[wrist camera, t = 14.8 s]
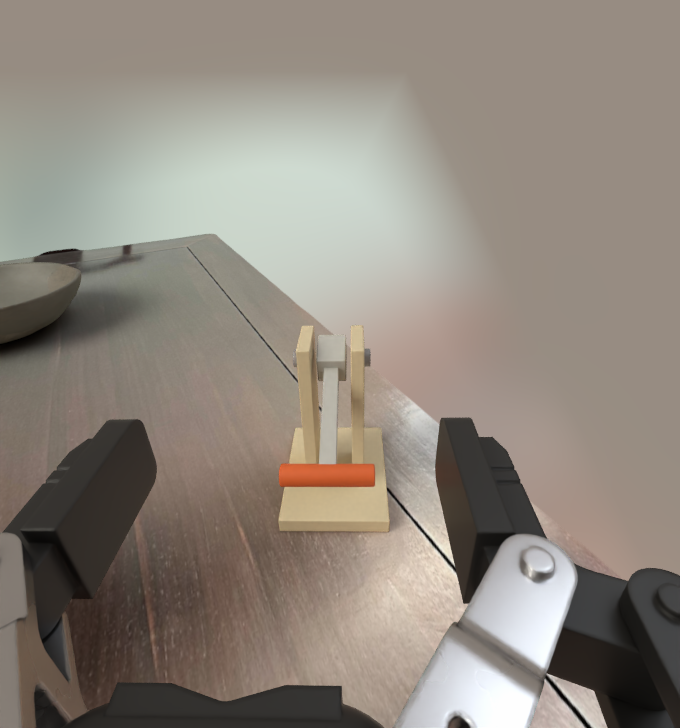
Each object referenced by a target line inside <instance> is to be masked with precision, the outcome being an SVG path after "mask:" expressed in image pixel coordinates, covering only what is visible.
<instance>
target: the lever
mask: <svg viewBox="0 0 680 728" xmlns="http://www.w3.org/2000/svg"><path fill="white" fill-rule="evenodd" d="M316 363H317V373H318V380H319V381H323V397H322V415H321V434H320V453H319V464H281V466H280V470H279V484H280V486H281V487H375V465H374V464H337V434H338V391H339V381H346V335H318V343H317V358H316Z"/></svg>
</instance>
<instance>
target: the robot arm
mask: <svg viewBox="0 0 680 728" xmlns="http://www.w3.org/2000/svg"><path fill="white" fill-rule="evenodd" d="M435 471H436V482H437V487H438V492H439V496H440V501H441V505H442V510H443V514H444V519H445V523H446V528H447V532H448V536H449V541H450V545H451V550H452V554H453V559H454V563H455V568H456V572H457V577H458V581H459V585H460V590H461V594H462V599H463V603H464V604H469V605H468V607H467V608H466V610H465V612H464V614H463V616H462V617H461V619H460V620H459V622H458V623H456V622H454V623H453V624H452V625H451V626H450V627H449V629H448V630H447V632H446V633H445V635H444V637H443V639H442V640H441V642H440V644H439V646H438V648H437V649H436V651H435V653H434V655H433V656H432V658H431V660H430V662H429V664H428V665H427V667H426V669H425V671H424V673H423V674H422V676H421V678H420V680H419V681H418V683H417V685H416V687H415V689H414V690H413V692H412V694H411V696H410V698H409V699H408V701H407V703H406V705H405V706H404V708H403V710H402V712H401V714H400V715H399V717H398V719H397V721H396V723H395V724H394V726H393V728H529V727H530V724H531V721H532V718H533V716H534V713H535V710H536V707H537V704H538V701H539V698H540V695H541V692H542V689H543V685H544V679H545V676H546V673H548V674H550V675H553V676H556V677H559V678H561V679H564V680H567V681H569V682H572V683H575V684H578V685H580V686H583V687H586V688H589V689H591V690H594V691H595V694H596V697H597V700H598V702H599V705H600V708H601V711H602V713H603V716H604V719H605V722H606V724H607V727H608V728H680V576H679V575H677V574H674V573H672V572H669V571H666V570H662V569H656V568H646V569H641V570H638V571H636V572H635V573H634V574H632V576H631V577H630V579H629V581H626V580H622V579H619V578H615V577H612V576H608V575H604V574H601V573H597V572H594V571H591V570H588V569H585V568H583V567H580V566H578V565H576V564H574V563H573V562H572V560H571V559H570V557H569V556H568V555H567V554H566V552H564V551H563V550H562V549H561V548H560V547H559V546H557V545H556V544H555V543H553V542H551V541H550V540H548V539H547V537H546V536H545V534H544V531H543V529H542V527H541V525H540V523H539V520H538V518H537V516H536V514H535V512H534V509H533V507H532V505H531V503H530V501H529V498H528V496H527V494H526V492H525V490H524V487H523V485H522V484H521V483H520V479H519V476H518V474H517V472H516V471H515V470H514V465H513V464H512V461H511V459H510V457H509V454H508V452H507V451H506V450H505V449H504V448H503V447H502V446H501V445H500V444H499V443H498V442H497V441H496V440H495V439H494V438H493V437H478V434H477V431H476V429H475V426H474V423H473V421H472V419H471V418H441V420H440V426H439V435H438V444H437V453H436V464H435ZM156 473H157V465H156V460H155V457H154V454H153V451H152V448H151V445H150V442H149V439H148V436H147V433H146V430H145V427H144V425H143V423H142V422H141V421H140V420H138V419H133V420H108V421H107V422H106V423H105V424H104V425H103V426H102V428H101V429H100V430H99V431H98V433H97V434H96V435H95V436H94V438H93V439H87V440H86V441H85V442H83V443H82V444H80V445H79V446H78V447H76V448H75V449H73V450H72V451H70V452H69V453H68V455H67V456H66V457H65V458H64V459H63V461H62V462H61V463H60V464H59V465H58V467H57V470H56V471H53V473H52V474H51V475H50V476H49V477H48V479H47V480H46V484H43V485H42V486H41V487H40V488H39V489H38V491H37V492H36V493H35V494H34V495H33V497H32V498H31V499H30V500H29V501H28V502H27V504H26V505H25V506H24V507H23V508H22V510H21V511H20V512H19V513H18V514H17V516H16V517H15V518H14V519H13V520H12V522H11V523H10V524H9V525H8V526H7V528H6V529H5V530H4V531H3V532H2V533H0V728H384V727H383V726H382V725H381V724H380V723H378V722H377V721H375V720H374V719H373V718H371V717H370V716H369V715H367V714H365V713H363V712H361V711H359V710H357V709H356V708H353V707H350V706H348V705H345V704H343V702H342V686H304V685H285V686H281V687H278V688H274V689H271V690H267V691H264V692H260V693H256V694H253V695H249V696H246V697H242V698H239V699H235V700H232V701H227V702H226V701H219V700H216V699H213V698H210V697H208V696H205V695H202V694H200V693H197V692H194V691H191V690H189V689H186V688H183V687H180V686H178V685H175V684H172V683H117V685H116V688H115V690H114V692H113V695H112V697H111V700H110V702H109V703H106V704H104V705H102V706H99V707H97V708H94V709H92V710H90V711H87V708H86V706H85V704H84V701H83V699H82V696H81V692H80V688H79V682H78V676H77V670H76V664H75V658H74V652H73V645H72V639H71V633H70V627H69V621H68V617H67V614H66V613H65V609H66V607H67V605H68V604H69V602H70V600H71V599H93V597H94V595H95V593H96V591H97V589H98V587H99V586H100V584H101V582H102V580H103V578H104V576H105V574H106V573H107V571H108V569H109V567H110V565H111V563H112V561H113V559H114V558H115V556H116V554H117V552H118V550H119V548H120V546H121V545H122V543H123V541H124V539H125V537H126V535H127V533H128V532H129V530H130V528H131V526H132V524H133V522H134V520H135V519H136V517H137V515H138V513H139V511H140V509H141V507H142V505H143V504H144V502H145V500H146V498H147V496H148V494H149V492H150V491H151V489H152V487H153V485H154V482H155V479H156Z"/></svg>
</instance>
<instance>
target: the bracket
mask: <svg viewBox="0 0 680 728" xmlns="http://www.w3.org/2000/svg"><path fill="white" fill-rule="evenodd" d="M293 364H294V367H297V372H298V383H299V395H300V407H301V418H302V428H295V433H294V439H293V444H292V449H291V455H290V460H289V464H319V453H320V434H321V428H320V419H319V402H318V385H317V368H316V351H315V335H314V326H302V328H301V332H300V336H299V341H298V345H297V349H294V352H293ZM364 366H370V349H364V331H363V326H362V325H358V326H357V325H356V326H351V413H352V428H338V434H337V464H374V465H375V487H285V488H284V493H283V498H282V504H281V509H280V515H279V520H278V521H279V528H280V531H344V532H389V525H390V519H389V508H388V497H387V486H386V475H385V464H384V453H383V442H382V431H381V428H364Z"/></svg>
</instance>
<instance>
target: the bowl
mask: <svg viewBox="0 0 680 728" xmlns="http://www.w3.org/2000/svg"><path fill="white" fill-rule="evenodd" d="M80 282H81V272H80V271H79V270H78V269H75V268H73V267H70V266H67V265H63V264H59V263H47V262H31V263H13V264H3V265H0V344H2V343H6V342H10V341H13V340H17V339H20V338H23V337H25V336H28V335H30V334H32V333H34V332H36V331H38V330H40V329H41V328H43V327H45V326H47V325H49V324H51V323H52V322H54V321H55V320H56V319H57V318H59V317H60V316H61V314H62V313H63V312H64V311H65V310H66V308H67V307H68V305H69V304H70V302H71V301H72V299H73V298H74V296H75V295H76V293H77V291H78V288H79V286H80Z"/></svg>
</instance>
